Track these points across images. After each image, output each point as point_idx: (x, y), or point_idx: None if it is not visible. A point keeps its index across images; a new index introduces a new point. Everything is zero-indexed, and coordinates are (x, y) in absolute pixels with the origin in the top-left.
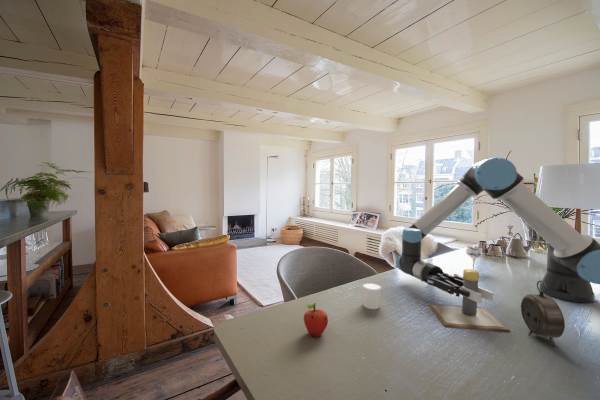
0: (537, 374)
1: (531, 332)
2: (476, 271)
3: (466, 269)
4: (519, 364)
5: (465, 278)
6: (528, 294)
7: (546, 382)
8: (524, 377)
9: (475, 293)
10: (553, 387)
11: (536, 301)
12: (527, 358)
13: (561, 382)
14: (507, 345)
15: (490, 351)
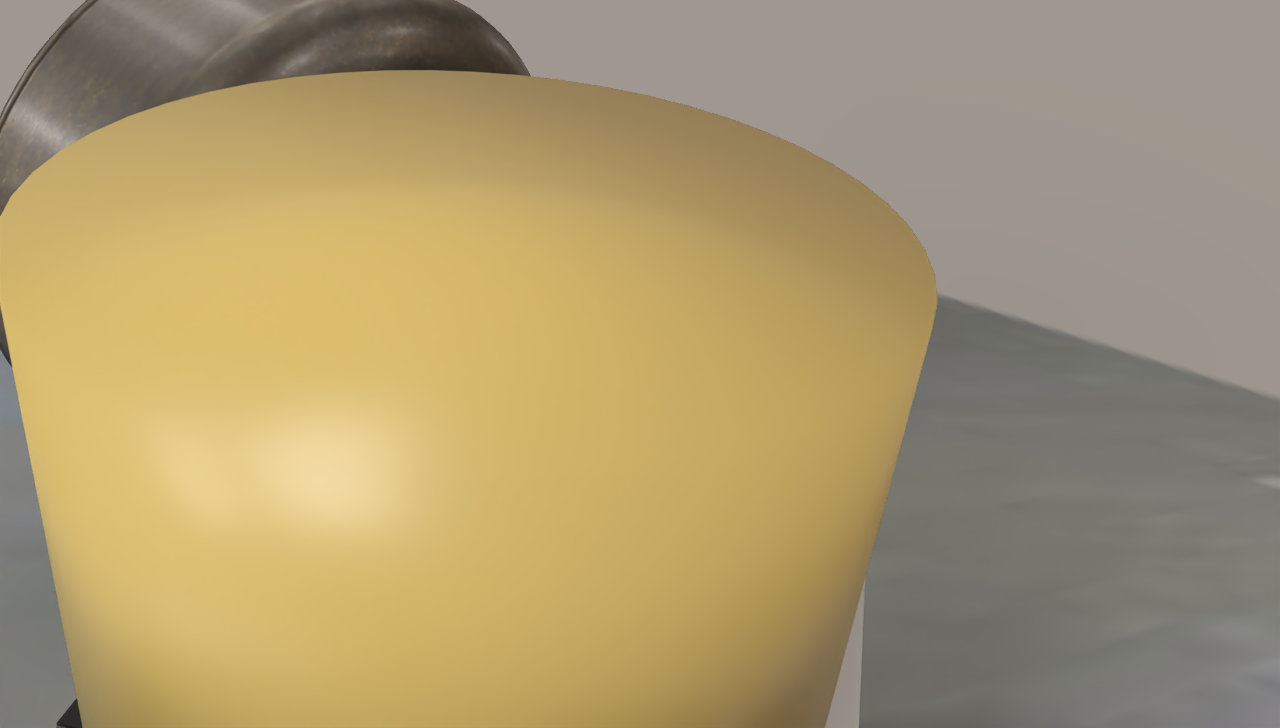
0: (1046, 417)
1: None
2: (232, 119)
3: (234, 418)
4: (1072, 491)
5: (841, 659)
6: (231, 52)
7: (1069, 383)
8: (1188, 447)
9: (856, 614)
10: (1072, 362)
11: (459, 34)
12: (904, 480)
13: (961, 348)
14: (869, 612)
15: (1191, 661)
